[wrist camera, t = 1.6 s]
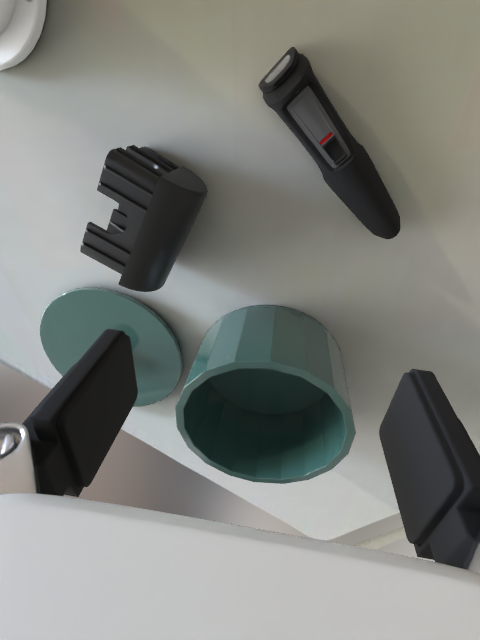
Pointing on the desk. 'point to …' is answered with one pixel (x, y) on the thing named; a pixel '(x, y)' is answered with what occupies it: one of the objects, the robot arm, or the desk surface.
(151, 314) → the lid
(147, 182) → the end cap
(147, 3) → the desk surface
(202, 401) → the canister
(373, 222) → the electric trimmer
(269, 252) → the desk surface
